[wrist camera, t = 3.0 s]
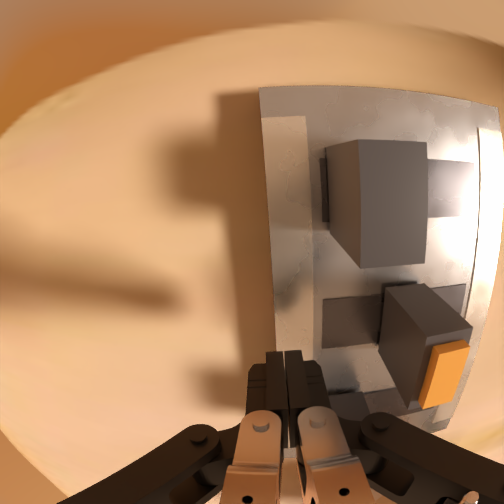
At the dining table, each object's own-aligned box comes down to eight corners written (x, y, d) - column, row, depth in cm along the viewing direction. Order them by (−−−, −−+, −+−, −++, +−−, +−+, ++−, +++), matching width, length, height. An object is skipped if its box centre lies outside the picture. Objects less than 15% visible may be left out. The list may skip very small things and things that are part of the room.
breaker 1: (362, 391, 17) (383, 450, 12) (354, 431, 18) (369, 486, 13) (324, 396, 17) (337, 458, 12) (320, 435, 18) (329, 493, 13)
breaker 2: (375, 146, 13) (426, 142, 8) (377, 230, 14) (424, 263, 9) (325, 146, 13) (357, 139, 8) (329, 233, 14) (359, 269, 9)
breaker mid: (424, 283, 15) (480, 334, 9) (414, 345, 16) (455, 406, 10) (385, 287, 15) (433, 345, 9) (377, 351, 16) (411, 418, 11)
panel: (479, 110, 14) (498, 107, 12) (437, 413, 20) (446, 429, 18) (259, 96, 15) (258, 87, 13) (280, 439, 21) (280, 459, 19)
